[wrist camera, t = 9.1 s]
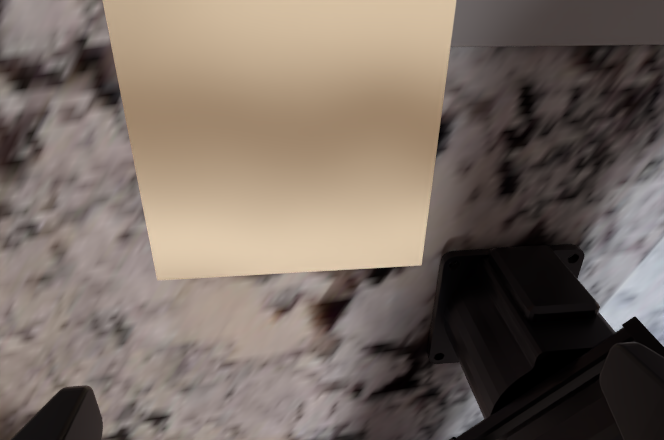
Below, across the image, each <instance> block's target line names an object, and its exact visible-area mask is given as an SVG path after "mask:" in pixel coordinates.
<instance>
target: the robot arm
mask: <svg viewBox="0 0 664 440" xmlns="http://www.w3.org/2000/svg"><path fill="white" fill-rule="evenodd" d="M573 254H574V255H573ZM571 255H573V256H572V257H570V256H571ZM569 257H570V258H569ZM583 259H584V253H583V251H582V250H581V249H580V248H579V247H578V246H576V245H572V244H570V245H552V246H548V245H537V246H519V247H501V248H494V249H480V250H462V251H451V252H448V253H446V254H445V255H444V256H443V257H442V259H441V263H440V269H439V276H438V282H437V289H436V296H435V302H434V309H433V315H432V322H431V328H430V335H429V342H428V348H427V355H428V357H429V360H430V361H431V362H432V363H434V364H443V363H455V362H460V364H461V367H462V369H463V371H464V373H465V376H466V378H467V380H468V383H469V385H470V387H471V389H472V392H473V394H474V396H475V399H476V401H477V403H478V405H479V408H480V410H481V412H482V415H483V417H484V420H483V421H481V422H480V423H478V424H477V425H475V426H474V427H472V428H471V429H469V430H468V431H466V432H464V433H463V434H461V435H460V436H458V437H457V438H455V437H452V438H451V439H449V440H664V347H663V346H662V345H661V344H660V342H659V341H658V340H657V339H656V338H655V337H654V336H653V335H652V334H651V333H650V332H649V331H648V330H647V329H646V327H645V326H644V325H643V324H642V323H641V322H640V321H639V320H638V319H637V318H636V317H633V318H632V319H630V320H629V321H627V322H626V323H624V324H623V325H622V326H623V328H622V329H620V330H619V331H617V332H615V331H614V330H613V329H612V327H611V326H610V325H609V324H608V323H607V322H606V320H605V319H604V318H603V317H602V316H601V314H600V313H599V312H598V311H599V308H600V306H599V304H598V303H597V302H596V300H595V299H594V298H593V297H592V296H591V295H590V293H589V292H588V291H587V290H586V289H585V288H584V286H583V285H582V284H581V283H580V282H579V281H578V279H577V278H578V275H579V272H580V269H581V266H582V263H583ZM453 261H457V262H456V263H455V264H453V265H450V263H451V262H453ZM437 353H439V354H437ZM102 431H103V422H102V416H101V413H100V410H99V407H98V404H97V401H96V398H95V395H94V392H93V390H92V388H91V387H90V386H73V387H65V388H63V389H61V390H60V391H59V392H58V393H57V394H56V395H55V396H54V397H53V398H52V399H51V400H50V401H49V402H48V403H47V404H46V405H45V406H44V407H43V408H42V409H41V410H40V411H39V412H38V413H37V414H36V415H35V416H34V417H33V418H32V419H31V420H30V421H29V422H28V423H27V424H26V425H25V426H24V427H23V428H22V429H21V430H20V431H19V432H18V433H17V434H16V435H15V436H14V437H13V438H12V439H11V440H101V438H102Z"/></svg>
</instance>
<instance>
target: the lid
mask: <svg viewBox="0 0 664 440" xmlns="http://www.w3.org/2000/svg"><path fill="white" fill-rule="evenodd" d="M103 5H104V10H105V15H106V20H107V25H108V30H109V35H110V41H111V46H112V51H113V56H114V61H115V66H116V71H117V76H118V82H119V87H120V92H121V97H122V102H123V107H124V112H125V117H126V123H127V128H128V133H129V138H130V143H131V148H132V153H133V158H134V164H135V169H136V174H137V179H138V184H139V189H140V194H141V199H142V205H143V210H144V215H145V220H146V225H147V230H148V235H149V240H150V246H151V251H152V256H153V261H154V266H155V271H156V276H157V280H173V279H190V278H208V277H226V276H243V275H261V274H278V273H296V272H314V271H331V270H349V269H367V268H384V267H402V266H419V265H422V257H423V250H424V242H425V234H426V227H427V219H428V212H429V204H430V197H431V189H432V182H433V174H434V166H435V159H436V151H437V144H438V136H439V129H440V121H441V114H442V106H443V98H444V91H445V83H446V76H447V68H448V61H449V53H450V46H451V38H452V30H453V23H454V15H455V8H456V0H103Z"/></svg>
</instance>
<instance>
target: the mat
mask: <svg viewBox="0 0 664 440" xmlns="http://www.w3.org/2000/svg"><path fill="white" fill-rule="evenodd" d="M588 45H664V0H456V8H455V15H454V23H453V30H452V38H451V46H450V47H496V46H588Z"/></svg>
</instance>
